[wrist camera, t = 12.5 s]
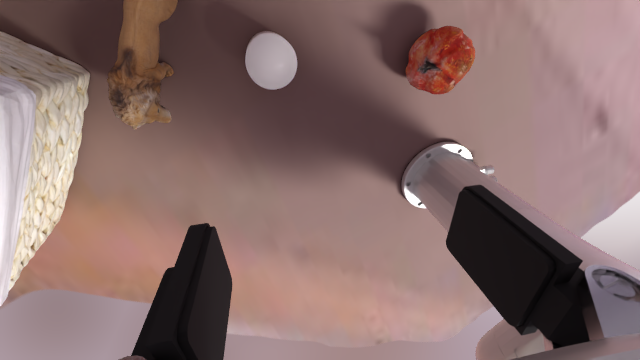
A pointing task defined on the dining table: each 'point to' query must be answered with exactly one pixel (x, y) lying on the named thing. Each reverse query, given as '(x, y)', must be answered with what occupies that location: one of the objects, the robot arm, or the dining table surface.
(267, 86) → the off-white ceramic salt cellar
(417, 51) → the pomegranate
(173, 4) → the lion figurine
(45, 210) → the storage basket
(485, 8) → the dining table surface
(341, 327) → the dining table surface
